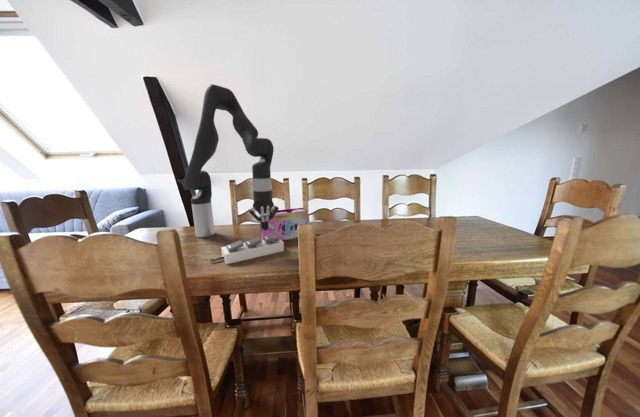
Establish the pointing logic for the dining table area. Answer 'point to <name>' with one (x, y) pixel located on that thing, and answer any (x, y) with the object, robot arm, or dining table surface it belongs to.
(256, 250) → the power strip
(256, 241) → the rocker
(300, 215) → the gum box
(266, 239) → the rocker
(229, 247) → the rocker
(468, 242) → the dining table surface
